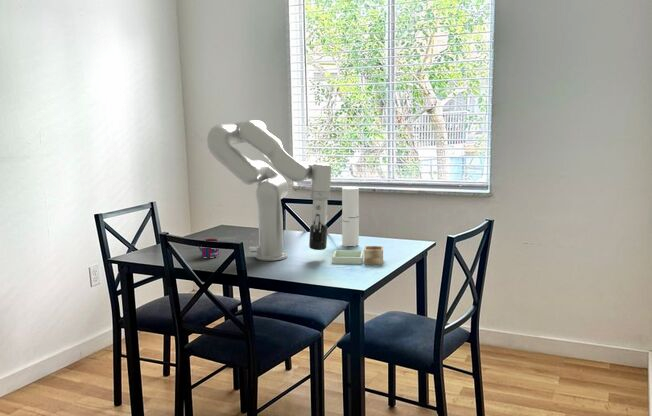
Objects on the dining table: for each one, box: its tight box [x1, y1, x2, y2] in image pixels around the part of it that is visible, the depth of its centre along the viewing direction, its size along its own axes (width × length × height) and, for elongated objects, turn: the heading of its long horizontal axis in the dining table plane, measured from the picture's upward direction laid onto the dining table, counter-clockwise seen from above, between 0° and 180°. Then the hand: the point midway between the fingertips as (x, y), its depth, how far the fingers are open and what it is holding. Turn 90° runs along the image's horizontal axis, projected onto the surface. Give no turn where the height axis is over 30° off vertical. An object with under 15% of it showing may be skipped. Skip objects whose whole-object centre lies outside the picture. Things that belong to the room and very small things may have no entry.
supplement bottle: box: [308, 218, 328, 251], centre depth 238 cm, size 7×7×12 cm
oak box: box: [363, 245, 384, 265], centre depth 234 cm, size 7×7×6 cm
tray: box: [332, 249, 364, 265], centre depth 237 cm, size 11×11×3 cm
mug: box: [198, 238, 220, 258], centre depth 247 cm, size 7×10×7 cm
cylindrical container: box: [341, 186, 360, 247], centre depth 264 cm, size 7×7×25 cm
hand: (318, 239), depth 239 cm, fingers closed on supplement bottle, 6 cm apart
